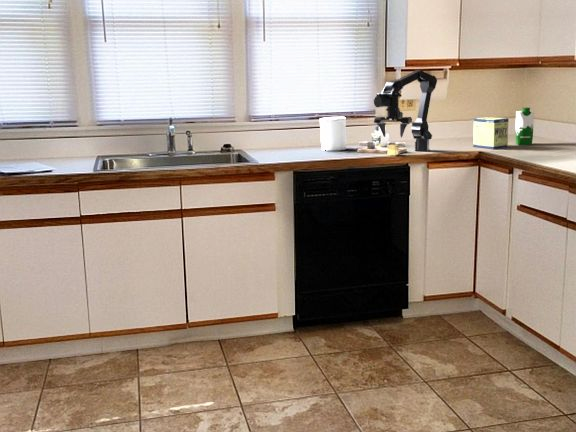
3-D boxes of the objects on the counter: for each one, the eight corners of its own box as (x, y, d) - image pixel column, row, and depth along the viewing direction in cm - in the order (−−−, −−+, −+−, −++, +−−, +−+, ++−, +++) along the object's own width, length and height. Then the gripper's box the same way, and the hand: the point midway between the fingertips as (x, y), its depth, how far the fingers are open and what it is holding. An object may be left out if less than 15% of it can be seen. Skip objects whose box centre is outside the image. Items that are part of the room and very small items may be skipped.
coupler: (398, 154, 353) (398, 144, 352) (394, 155, 349) (394, 146, 348) (391, 154, 356) (391, 144, 354) (387, 155, 351) (387, 145, 350)
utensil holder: (315, 150, 381) (314, 119, 377) (326, 147, 394) (326, 116, 390) (340, 151, 374) (339, 119, 370) (350, 148, 387) (350, 116, 383)
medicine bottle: (371, 146, 391) (371, 125, 389) (380, 145, 395) (380, 124, 393) (380, 147, 386) (380, 125, 383) (389, 145, 390) (389, 124, 387)
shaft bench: (408, 151, 363) (408, 141, 361) (401, 153, 354) (401, 143, 353) (363, 150, 376) (363, 140, 375) (355, 152, 367) (355, 142, 366)
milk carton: (517, 145, 369) (518, 108, 365) (513, 143, 378) (514, 107, 374) (534, 145, 368) (535, 107, 364) (530, 143, 377) (531, 106, 373)
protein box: (493, 149, 358) (494, 119, 355) (472, 147, 371) (473, 118, 368) (508, 147, 363) (509, 118, 359) (486, 145, 376) (487, 116, 373)
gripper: (415, 105, 349) (415, 135, 352) (382, 105, 359) (382, 134, 362) (408, 106, 340) (408, 138, 343) (373, 106, 349) (373, 137, 353)
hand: (392, 136), depth 350 cm, fingers open, 9 cm apart
